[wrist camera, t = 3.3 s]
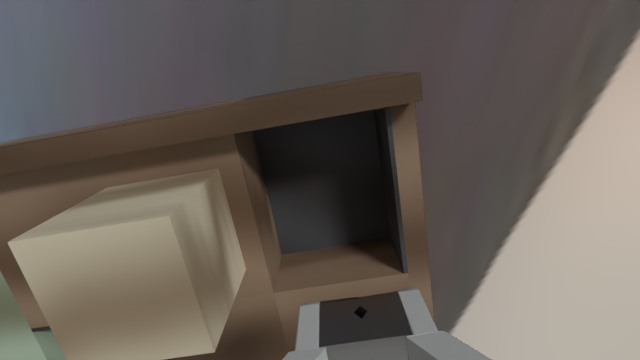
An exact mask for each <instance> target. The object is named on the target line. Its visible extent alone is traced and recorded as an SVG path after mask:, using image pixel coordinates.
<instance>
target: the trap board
mask: <svg viewBox="0 0 640 360" xmlns="http://www.w3.org/2000/svg"><path fill="white" fill-rule="evenodd" d="M419 101H423V98H422V86H421V74H420V73H411V72H389V73H384V74H378V75H373V76H367V77H362V78H356V79H351V80H345V81H339V82H334V83H328V84H323V85H317V86H312V87H306V88H301V89H295V90H290V91H284V92H279V93H273V94H267V95H262V96H256V97H251V98H245V99H240V100H234V101H229V102H223V103H218V104H212V105H207V106H201V107H195V108H190V109H184V110H179V111H173V112H168V113H162V114H157V115H151V116H146V117H140V118H134V119H129V120H123V121H118V122H112V123H107V124H101V125H96V126H90V127H85V128H79V129H74V130H68V131H62V132H57V133H51V134H46V135H40V136H35V137H29V138H24V139H18V140H13V141H7V142H2V143H0V360H66V358H65V356H64V354H63V352H62V350H61V348H60V346H59V344H58V342H57V340H56V338H55V336H54V334H53V332H52V330H51V328H50V326H49V324H48V322H47V320H46V318H45V316H44V314H43V312H42V310H41V308H40V307H39V305H38V303H37V301H36V299H35V297H34V295H33V293H32V291H31V289H30V287H29V285H28V283H27V281H26V279H25V277H24V275H23V273H22V271H21V269H20V267H19V265H18V263H17V261H16V259H15V257H14V255H13V253H12V251H11V249H10V247H9V245H8V243H7V242H9V241H11V240H12V239H14V238H16V237H18V236H20V235H21V234H23V233H25V232H27V231H29V230H31V229H32V228H34V227H36V226H38V225H40V224H42V223H43V222H45V221H47V220H49V219H51V218H53V217H54V216H56V215H58V214H60V213H62V212H63V211H65V210H67V209H69V208H71V207H73V206H74V205H76V204H78V203H80V202H82V201H84V200H85V199H87V198H89V197H91V196H93V195H95V194H96V193H98V192H100V191H102V190H104V189H105V188H107V187H113V186H119V185H125V184H131V183H137V182H143V181H148V180H154V179H160V178H166V177H172V176H178V175H184V174H190V173H196V172H202V171H207V170H213V169H219V172H220V176H221V180H222V183H223V187H224V190H225V194H226V198H227V201H228V205H229V209H230V212H231V216H232V220H233V223H234V227H235V231H236V234H237V238H238V241H239V245H240V249H241V252H242V256H243V260H244V263H245V267H246V271H245V274H244V276H243V279H242V281H241V284H240V287H239V289H238V292H237V295H236V297H235V300H234V303H233V305H232V308H231V311H230V313H229V316H228V319H227V321H226V324H225V326H224V329H223V332H222V334H221V337H220V340H219V342H218V345H217V348H216V350H215V352H214V353H207V354H200V355H192V356H185V357H178V358H173V360H282V359H283V358H284V357H285V356H286V355H287V353H288V352H292V351H295V344H296V334H297V325H298V315H299V307H300V305H301V304H305V303H312V302H321V301H327V300H335V299H344V298H352V297H363V296H369V295H376V294H382V293H389V292H395V291H398V290H403V289H409V288H415V287H416V288H418V289H419V291H420V293H421V296H422V298H423V300H424V302H425V304H426V306H427V309H428V311H429V313H430V315H431V317H432V319H433V322H434V316H433V305H432V294H431V282H430V271H429V260H428V248H427V237H426V226H425V214H424V203H423V192H422V180H421V169H420V158H419V146H418V135H417V124H416V112H415V102H419Z"/></svg>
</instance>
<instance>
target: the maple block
mask: <svg viewBox="0 0 640 360" xmlns="http://www.w3.org/2000/svg"><path fill="white" fill-rule="evenodd" d="M7 243H8V245H9V247H10V249H11V251H12V253H13V255H14V257H15V259H16V261H17V263H18V265H19V267H20V269H21V271H22V273H23V275H24V277H25V279H26V281H27V283H28V285H29V287H30V289H31V291H32V293H33V295H34V297H35V299H36V301H37V303H38V305H39V307H40V308H41V310H42V312H43V314H44V316H45V318H46V320H47V322H48V324H49V326H50V328H51V330H52V332H53V334H54V336H55V338H56V340H57V342H58V344H59V346H60V348H61V350H62V352H63V354H64V356H65V358H66V360H164V359H171V358H178V357H185V356H192V355H200V354H207V353H214V352H215V350H216V348H217V345H218V342H219V340H220V337H221V334H222V332H223V329H224V326H225V324H226V321H227V319H228V316H229V313H230V311H231V308H232V305H233V303H234V300H235V297H236V295H237V292H238V289H239V287H240V284H241V281H242V279H243V276H244V274H245V271H246V267H245V263H244V260H243V256H242V252H241V249H240V245H239V241H238V238H237V234H236V231H235V227H234V223H233V220H232V216H231V212H230V209H229V205H228V201H227V198H226V194H225V190H224V187H223V183H222V180H221V176H220V172H219V169H213V170H207V171H202V172H196V173H190V174H184V175H178V176H172V177H166V178H160V179H154V180H148V181H143V182H137V183H131V184H125V185H119V186H113V187H107V188H105V189H104V190H102V191H100V192H98V193H96V194H95V195H93V196H91V197H89V198H87V199H85V200H84V201H82V202H80V203H78V204H76V205H74V206H73V207H71V208H69V209H67V210H65V211H63V212H62V213H60V214H58V215H56V216H54V217H53V218H51V219H49V220H47V221H45V222H43V223H42V224H40V225H38V226H36V227H34V228H32V229H31V230H29V231H27V232H25V233H23V234H21V235H20V236H18V237H16V238H14V239H12V240H11V241H9V242H7Z"/></svg>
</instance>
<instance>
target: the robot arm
mask: <svg viewBox="0 0 640 360" xmlns="http://www.w3.org/2000/svg"><path fill="white" fill-rule="evenodd" d="M282 360H491V359H489V358H488V357H486V356H485V355H483V354H481V353H480V352H478V351H476V350H475V349H473V348H471V347H470V346H468V345H467V344H465V343H463V342H462V341H460V340H458V339H457V338H455V337H454V336H452V335H450V334H449V333H447V332H445V331H439V332H438V330H437V328H436V326H435V324H434V322H433V319H432V317H431V315H430V313H429V311H428V309H427V306H426V304H425V302H424V300H423V298H422V296H421V293H420V291H419V289H418V288H416V287H415V288H409V289H403V290H398V291H395V292H389V293H382V294H376V295H369V296H363V297H352V298H344V299H335V300H327V301H321V302H312V303H305V304H301V305H300V307H299V315H298V325H297V334H296V344H295V351H292V352H288V353H287V355H286V356H285V357H284V358H283V359H282Z"/></svg>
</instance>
